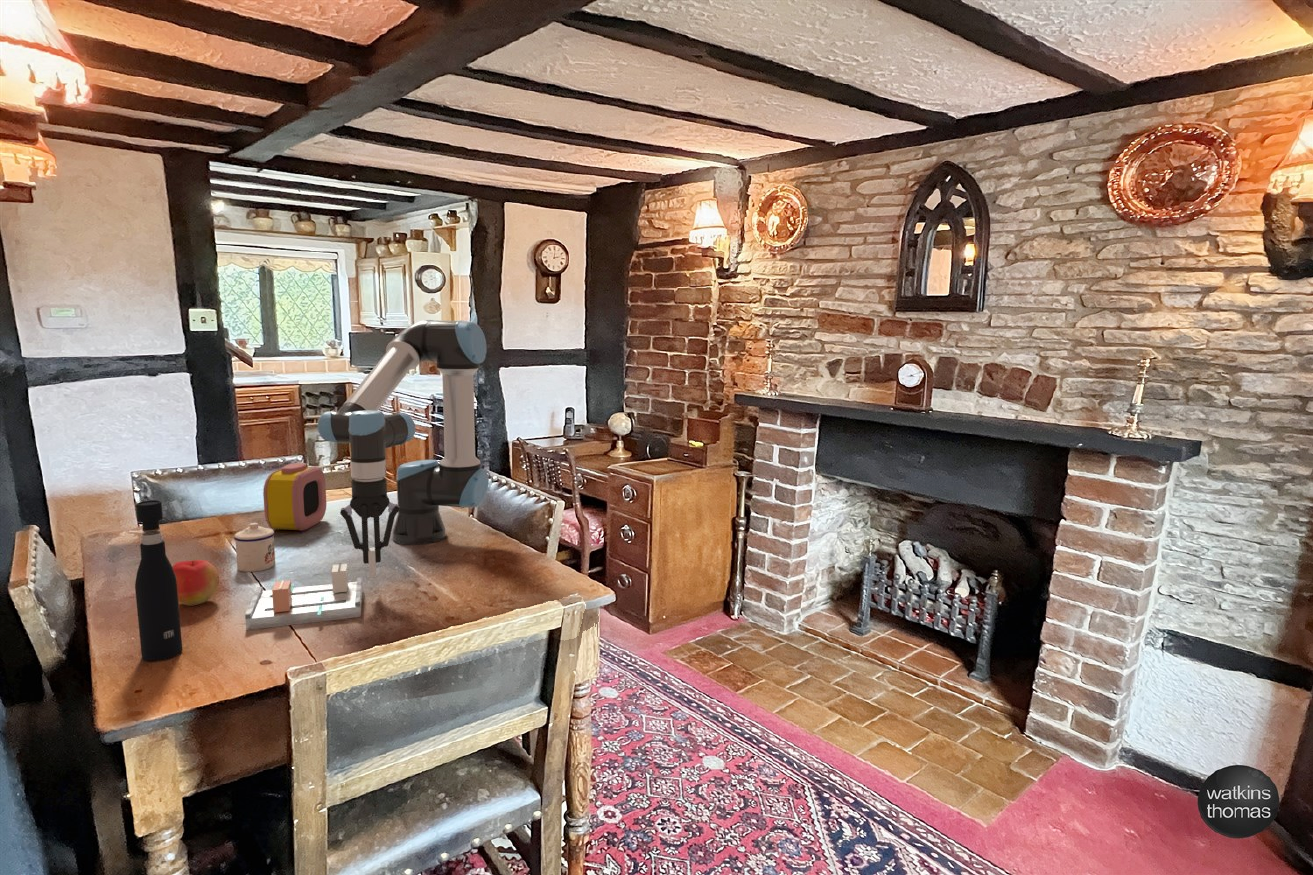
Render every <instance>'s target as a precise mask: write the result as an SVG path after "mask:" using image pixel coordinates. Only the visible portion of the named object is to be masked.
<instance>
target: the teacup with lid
mask: <svg viewBox="0 0 1313 875" xmlns="http://www.w3.org/2000/svg"><path fill="white" fill-rule="evenodd" d="M274 536H275V530H274V529H272V528H270V527H264V526H261V525H259V523H258V522H251V523H249V526H247V527H245V528H244V529H243V530H240V531H238V532H236V533H235V534H234V537H233V539H234V540H235V542H234V543H235V552H236V568H237V570H238V571H240V572H245V573H253V572H255V573H256V572H261V571H265V570H269V569H271V568H272V567H274V566H275V565H276V554H275V553H276V552H275V538H274Z"/></svg>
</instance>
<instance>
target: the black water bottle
mask: <svg viewBox="0 0 1313 875" xmlns="http://www.w3.org/2000/svg"><path fill="white" fill-rule="evenodd" d="M162 505H163V504H162V501H161V500H155V499H153V500H143V501H139V502H137V503H136V504H135V508H136V509H135V510H136V511H135V512H136V520H137V522H138V523H142V524H141V525H142V532H143V533H141V536H140V539H141V540H140V542H141V543H140V545H139V547H140V558H141V559H140V562H139V564H138V568H137V572H136V575H135V576H136V577H135V585H134V589H135V599H136V602H135V603H136V610H137V621H138V633H139V641H140V644H139V645H140V653H141V654H140V655H141V660H142V661H145V662H148V663H149V662H150V663H151V662H152V663H153V662H155V663H156V662H161V661H166V660H170V659H173V658H175V657H177V656H179V655H180V654H181V653H182V652H183V639H182V629H181V628H182V627H181V618H180V604H179V603H180V602H178V592H177V580H176V576H175V573H174V570H173V567H172V566H173V565H172V564H171V562H170V560H169V558H168V557H167V554H166V545H165V544H166V543H165V542H166V541H165V540H163V539H164V538H163V533H162V531H160V529H161V527H160V524H159V522H160V521H161V520H163V518H164V517H163V507H162Z"/></svg>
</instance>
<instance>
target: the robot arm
mask: <svg viewBox="0 0 1313 875" xmlns="http://www.w3.org/2000/svg"><path fill="white" fill-rule="evenodd" d="M487 350H488V349H487V341H486V337H485V334H484V331H483V330H482V328H481V327H480V325H478V324H477V323H475V322H474V321H467V320H466V321H465V320H433V319H432V320H431V319H424V320H420V321H418V322H415V323H413V324H411V325H409V326H408V327H406V328H404V329H403V330H402V331H400V332H399V333H398V334H397V335H396V336H394V337H393V338H392V339H391V340H390V341H389V342H388V344H387V345H386V348H385V352H386V353H384V354H383V356H382V357H381V358H380V359H379V361H378V362H377V363H376V364H375V366H374V367H373V368H372V369H371V371H369V373H368V374H367V375H366V376H365V377H364V379H363V380H362V381H361V383H359V385H358V386H357V387H356V389H355V390H354V391H353V392H352V394H351V395H350V396H349V397H348V398H347V399H346V401H345V402H344V403H343V404H342V405H341V407H339V409H338V410H337V411H336V410H331V411H330V410H329V411H325V412H323V413H322V414H321V415H320V417H319V418H318V422H317V431H318V434H319V436H320V437H321V438H322V440H323V441H327V442H330V443H331V442H332V443H337V444H349V449H350V477H351V478H352V479H351V499H350V501H349V504H348V505H347V506H345V507H341V509H340V512H339V513H340V515H341V517H342V518H343V519H344V520H345V523H346V525H347V529H348V532H349V535H350V539H351V541H352V544H353V548H354V549H355V550H360V551H362V558H363V559H362V560H363V561H362V562H363V564H365V565H366V564H368V578H369V579H372V578H377V567H376V566H377V563H380V562H381V561H382V559H381V558H382V556H381V553H382V552H381V551H382V549H383V548H386V547H388V546H389V543H390V539H391V534H392V540H393V542H395V543H397V544H402V545H425V544H431V543H435V542H438V541H441V540H442V539H444V538H445V537H446V527H445V524H444V521H443V518H442V516H441V514H440V507H441V506H442V507H452V508H461V509H465V508H467V509H474V508H477V507H479V506H480V505H481V504H482V503H483V501H484V500H485V498H486V495H487V492H488V489H489V483H490V482H489V481H490V479H489V478H490V477H489V473H488V471H487V470H486V469H484V468H481V467H482V466H481V465H482V464H481V460H480V459H479V458H478V457H477V456H476V440H475V438H476V437H475V436H476V435H475V432H476V430H475V429H476V428H475V390H474V388H475V384H474V378H475V377H474V376H475V374H476V372H477V371H478V370H479V369H480V364H482V363H484V361H485V360H486V355H487ZM424 362H436V370H438V371H439V373H441V376H442V402H443V403H442V406H443V410H442V411H443V412H442V413H443V440H444V443H443V444H444V445H443V446H444V451H443V452H444V456H443V458H442V459H441V460H440V461H439V462H438V460H437V459H422V460H414V461H409V462H405V463H403V464H401V465H399V466H398V467H397V470H396V480H395V481H396V496H397V497H396V498H397V504H395V503H393V502H391V501H390V498H389V497H388V487H387V486H388V485H387V484H388V482H387V478H386V476H387V459H386V458H387V457H386V449H388V448H392V447H395V446H401V445H404V444H405V443H408V442H409V441H411V440H412V439H413V438H414V437H415V434H416V430H417V429H416V423H415V421H414V420H413V418H412V417H411V416H410V415H408V414H406V413H403V412H400V413H397V412H395V413H391V414H384V412H383V411H381V410H380V409H381V408H382V406H383V405H384V404H385V402H386V401H387V400H388V399H389V397H390V396H391V395H392V393H393V392H394V391H395V389H397V387H398V386H399V385H400V383H401V382H402V381H403V379H404V378H405V377H406V375H407V374H408V372H410V371H411V370H414V369H416V368H417V367H418V366H419V365H420V364H421V363H424ZM439 506H440V507H439ZM386 509H387V511H388V516H387V517H388V518H387V521H386V525H385V526H386V527H385V531H384V533H383V534H384V536H383V539H382V540H381V530H380V529H381V528H380V527H381V526H380V516H382V515H383V513H384V512H385V510H386ZM352 510H353V511H354V512H355V513H356V514H357V515H358V516H359V517H360V518H361V535H362V536H361V537H362V539H361V540H362V542H361V540H360V539H359V535H358V533H357V529H356V526H355V523H354V520H353V517H352V515H353V511H352ZM396 515H397V516H396ZM395 517H396V519H395ZM369 518H373V535H374V537H373V538H374V547H369V525H368V522H369V521H368V520H369ZM394 521H395V522H394Z"/></svg>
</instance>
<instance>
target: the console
mask: <svg viewBox="0 0 1313 875" xmlns="http://www.w3.org/2000/svg"><path fill="white" fill-rule="evenodd" d="M291 592H292V604H291V607H290V610H289V611H283V612H273V596H272V589H268V590H263V586H258V587H256V589H255V592H254V594H253V597H252V599H251V601H250V604H249V606H248V607H247V609H246V612H245V614H244V616H245V617H244V618H245V630H246V631H249V630H252V631H253V630H258V629H260V630H261V629H267V628H276V627H277V628H278V627H284V626H292V625H293V626H294V625H301V624H310V623H319V622H328V621H329V622H330V621H337V620H344V619H352V618H353V619H354V618H360V617H361V616H362V615H361V614H362V602H363V600H362V599H363V577H357V578H356V581H352V582H351V581H350V582H349V581H348V588H347V592H338V593H333V587H332V583H330V584H329V583H328V584H319V585H310V586H309V585H308V586H300V587H295V583H294V584H292V583H291Z"/></svg>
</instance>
